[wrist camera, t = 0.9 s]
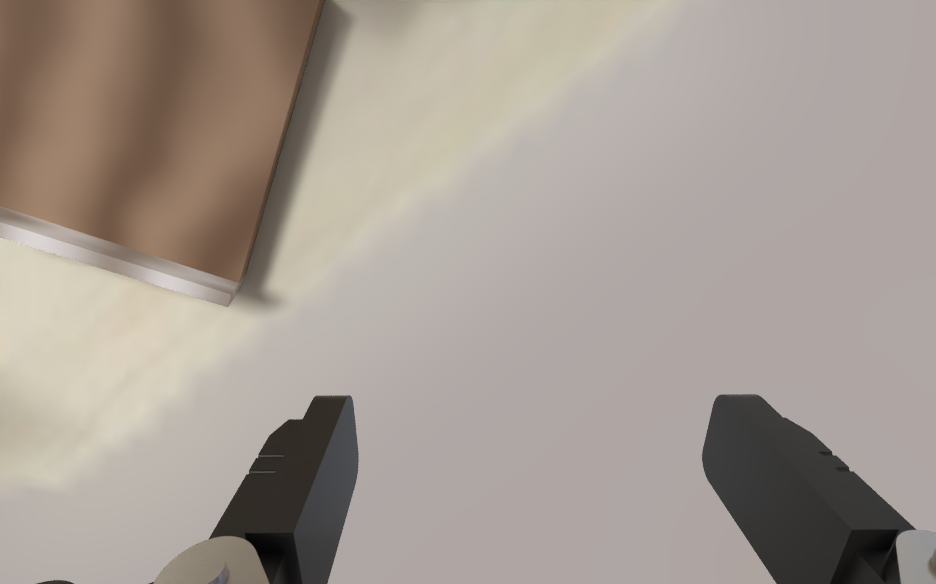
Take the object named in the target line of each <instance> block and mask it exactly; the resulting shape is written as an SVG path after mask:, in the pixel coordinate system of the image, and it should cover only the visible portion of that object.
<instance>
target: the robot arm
mask: <svg viewBox="0 0 936 584" xmlns="http://www.w3.org/2000/svg"><path fill="white" fill-rule="evenodd" d="M702 461H703V467H704V471H705V474H706V477H707V479H708V481H709V482H710V484H711V485H712V487H713V489H714V490H715V492H716V493H717V494H718V496H719V497H720V499H721V501H722V502H723V504H724V505H725V507H726V508H727V510H728V511H729V513H730V514H731V516H732V517H733V519H734V520H735V522H736V523H737V525H738V526H739V528H740V529H741V531H742V532H743V534H744V535H745V537H746V538H747V540H748V541H749V543H750V544H751V546H752V547H753V549H754V550H755V552H756V553H757V555H758V556H759V558H760V559H761V561H762V562H763V564H764V565H765V567H766V568H767V570H768V571H769V573H770V574H771V576H772V577H773V579H774V580H775V582H776V583H777V584H936V533H935V532H930V531H924V530H916V529H915V528H914V527H913V526H912V525H910V523H909V522H907V521H906V520H905V519H904V518H903V517H902V516H901V515H900V514H899V513H898V512H897V511H896V510H894V509H893V508H892V507H891V506H890V505H889V504H888V503H887V502H886V501H885V500H884V499H882V497H880V496H879V495H878V494H877V493H876V492H875V491H874V490H873V489H872V488H871V487H870V486H869V485H867V484H866V483H865V482H864V481H863V480H862V479H861V478H860V477H859V476H858V475H857V474H855V473H854V472H850V471H849V467H848V466H847V465H846V464H845V463H844V462H842V461H841V460H840V459H839V458H838V457H837V456H833V455H832V451H831V450H830V449H828V448H827V447H826V446H825V445H824V444H823V443H822V442H821V441H820V440H819V439H817V437H815V436H814V435H813V434H812V433H811V432H809V431H807V430H806V429H804V428H802V427H800V426H799V425H797V424H795V423H794V422H792V421H790V420H788V419H787V418H783V417H782V416H781V415H780V414H779V413H777V412H776V410H774V409H773V408H772V407H771V406H770V405H769V404H768V403H767V402H766V401H765V400H764V399H763V398H762V397H760V396H758V395H719V396H718V397H717V398H716V399H715V401H714V404H713V408H712V413H711V417H710V422H709V426H708V430H707V434H706V439H705V443H704V447H703V453H702ZM357 473H358V446H357V435H356V425H355V416H354V407H353V400H352V397H351V396H315V397H314V398H313V400H312V402H311V404H310V406H309V408H308V410H307V412H306V414H305V416H304V418H303V419H301V420H288V421H287V422H285V423H284V424H283V425H282V426H281V427H279V428H278V429H277V430H276V431H274V432H273V433H272V434H271V435H270V436H269V437H268V439H267V441H266V443H265V444H264V446H263V448H262V449H261V451H260V453H259V456H258V458H256V460H255V462H254V463H253V465H252V466H251V468H250V470H249V474H248V475H246V477H245V478H244V480H243V482H242V483H241V485H240V487H239V488H238V490H237V492H236V494H235V495H234V497H233V499H232V500H231V502H230V504H229V505H228V507H227V509H226V511H225V512H224V514H223V516H222V517H221V519H220V521H219V523H218V524H217V526H216V528H215V529H214V531H213V533H212V535H211V536H210V538H209V539H208V540H205V541H203V542H200V543H198V544H196V545H194V546H192V547H190V548H188V549H187V550H185V551H184V552H182V553H181V554H179V555H178V556H177V557H175V558H174V559H173V560H172V561H171V562H170V563H169V564H168V565H167V566H166V567H165V568H164V569H163V570H162V571H161V573H160V574H159V575H158V577H157V578H156V580H155V581H154V582H152V583H150V584H327V583H328V579H329V576H330V572H331V568H332V565H333V562H334V558H335V555H336V551H337V547H338V544H339V540H340V537H341V533H342V530H343V526H344V523H345V519H346V516H347V512H348V508H349V505H350V501H351V498H352V494H353V490H354V487H355V483H356V479H357ZM38 584H73V583H71V582H68V581H62V580H61V581H60V580H54V581H47V582H42V583H38Z"/></svg>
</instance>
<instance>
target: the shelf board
mask: <svg viewBox="0 0 936 584" xmlns="http://www.w3.org/2000/svg"><path fill="white" fill-rule="evenodd" d="M324 1H325V0H0V238H4V239H7V240H10V241H13V242H17V243H20V244H23V245H26V246H30V247H33V248H36V249H40V250H43V251H46V252H49V253H53V254H56V255H59V256H62V257H66V258H69V259H72V260H75V261H79V262H82V263H85V264H89V265H92V266H95V267H98V268H102V269H105V270H108V271H111V272H115V273H118V274H121V275H125V276H128V277H131V278H134V279H138V280H141V281H144V282H147V283H151V284H154V285H157V286H161V287H164V288H167V289H170V290H174V291H177V292H180V293H183V294H187V295H190V296H193V297H197V298H200V299H203V300H206V301H210V302H213V303H216V304H219V305H223V306H226V307H228V306H229V304H230V303H231V301H232V300H233V298H234V297H235V295H236V294H237V292H238V291H239V289H240V287H241V286H242V284H243V281H244V277H245V274H246V270H247V267H248V264H249V260H250V257H251V253H252V250H253V246H254V243H255V239H256V236H257V232H258V229H259V225H260V222H261V219H262V215H263V212H264V208H265V205H266V201H267V198H268V194H269V191H270V187H271V184H272V181H273V177H274V174H275V170H276V167H277V163H278V160H279V156H280V153H281V149H282V146H283V143H284V139H285V136H286V132H287V129H288V125H289V122H290V118H291V115H292V111H293V108H294V104H295V101H296V98H297V94H298V91H299V87H300V84H301V80H302V77H303V73H304V70H305V66H306V63H307V60H308V56H309V53H310V49H311V46H312V42H313V39H314V35H315V32H316V28H317V25H318V21H319V18H320V15H321V11H322V8H323V4H324Z"/></svg>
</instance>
